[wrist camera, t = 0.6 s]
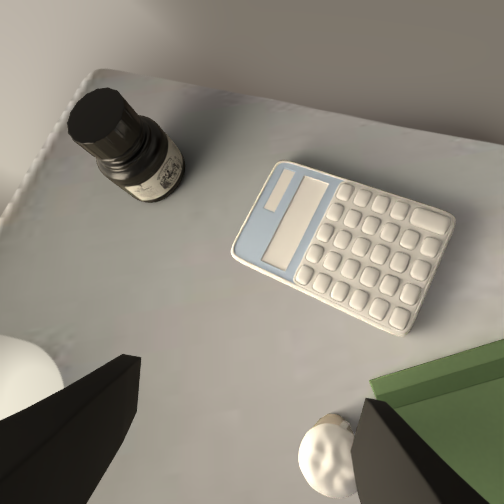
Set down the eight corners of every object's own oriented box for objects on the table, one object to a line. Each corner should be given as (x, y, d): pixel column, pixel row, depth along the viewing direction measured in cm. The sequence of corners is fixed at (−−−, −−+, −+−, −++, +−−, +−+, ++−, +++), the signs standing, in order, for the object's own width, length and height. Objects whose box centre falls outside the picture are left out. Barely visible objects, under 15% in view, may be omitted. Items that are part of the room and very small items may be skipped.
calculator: (404, 341, 31) (408, 340, 29) (230, 258, 38) (224, 254, 36) (455, 220, 32) (462, 212, 31) (280, 162, 39) (277, 154, 38)
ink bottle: (158, 217, 42) (93, 170, 31) (114, 189, 45) (41, 137, 34) (200, 158, 43) (152, 91, 32) (155, 134, 46) (96, 66, 35)
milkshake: (369, 411, 30) (382, 439, 20) (349, 470, 29) (353, 528, 20) (322, 388, 31) (314, 405, 22) (301, 444, 30) (285, 485, 21)
